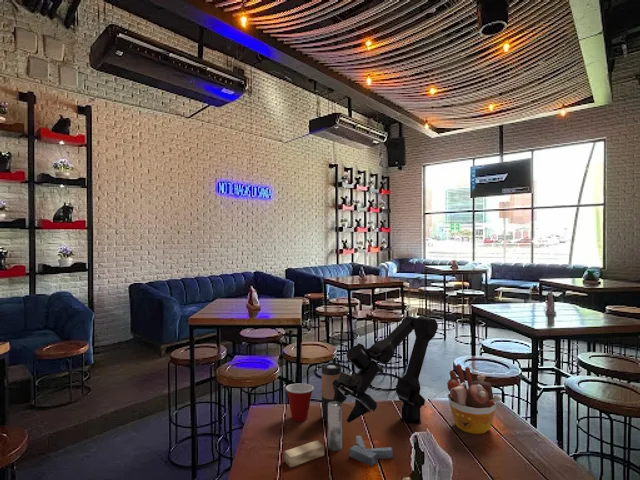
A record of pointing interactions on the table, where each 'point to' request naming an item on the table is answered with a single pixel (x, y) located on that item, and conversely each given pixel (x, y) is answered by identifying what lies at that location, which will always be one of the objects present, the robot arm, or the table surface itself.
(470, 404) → the bucket of meat
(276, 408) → the table surface
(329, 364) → the travel mug
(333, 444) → the grey metallic cylinder
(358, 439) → the grey flat branched piece
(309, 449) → the beam
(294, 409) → the plastic cup
